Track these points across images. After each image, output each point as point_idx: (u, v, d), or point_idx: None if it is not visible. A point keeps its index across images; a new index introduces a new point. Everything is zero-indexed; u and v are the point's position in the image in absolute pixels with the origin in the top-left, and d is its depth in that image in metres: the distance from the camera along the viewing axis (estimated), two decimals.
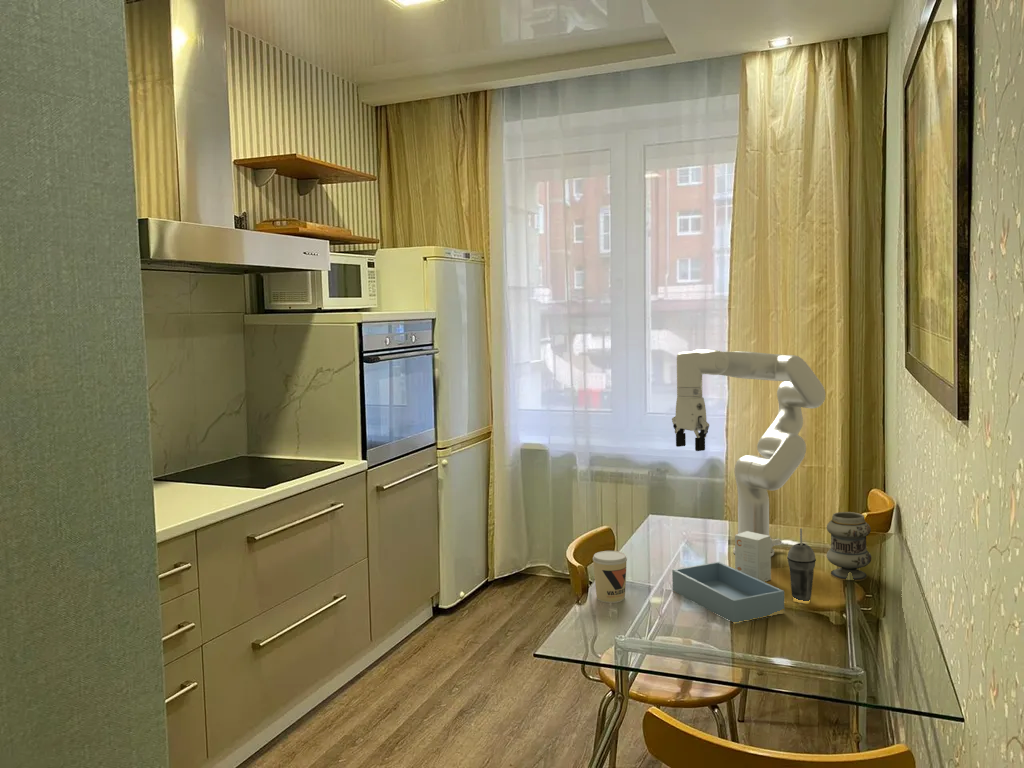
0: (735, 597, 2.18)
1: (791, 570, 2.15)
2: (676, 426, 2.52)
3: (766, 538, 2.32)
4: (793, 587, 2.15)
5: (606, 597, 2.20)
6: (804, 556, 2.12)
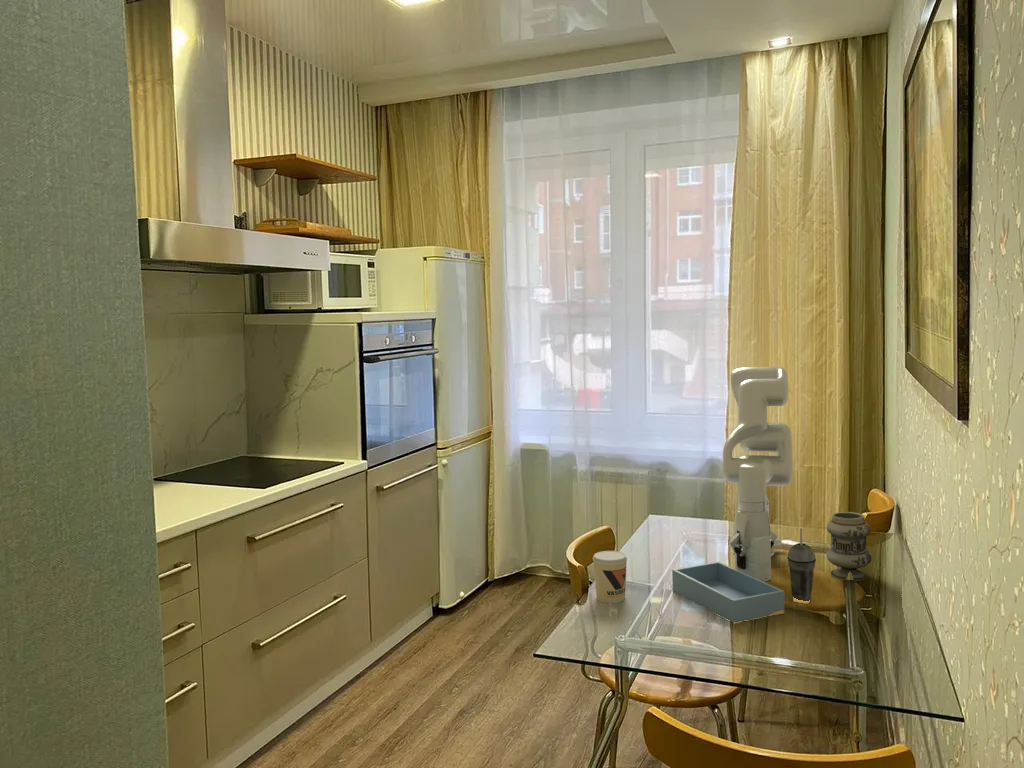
0: (735, 597, 2.18)
1: (791, 570, 2.15)
2: (738, 548, 2.32)
3: (766, 538, 2.32)
4: (793, 587, 2.15)
5: (606, 597, 2.20)
6: (804, 556, 2.12)
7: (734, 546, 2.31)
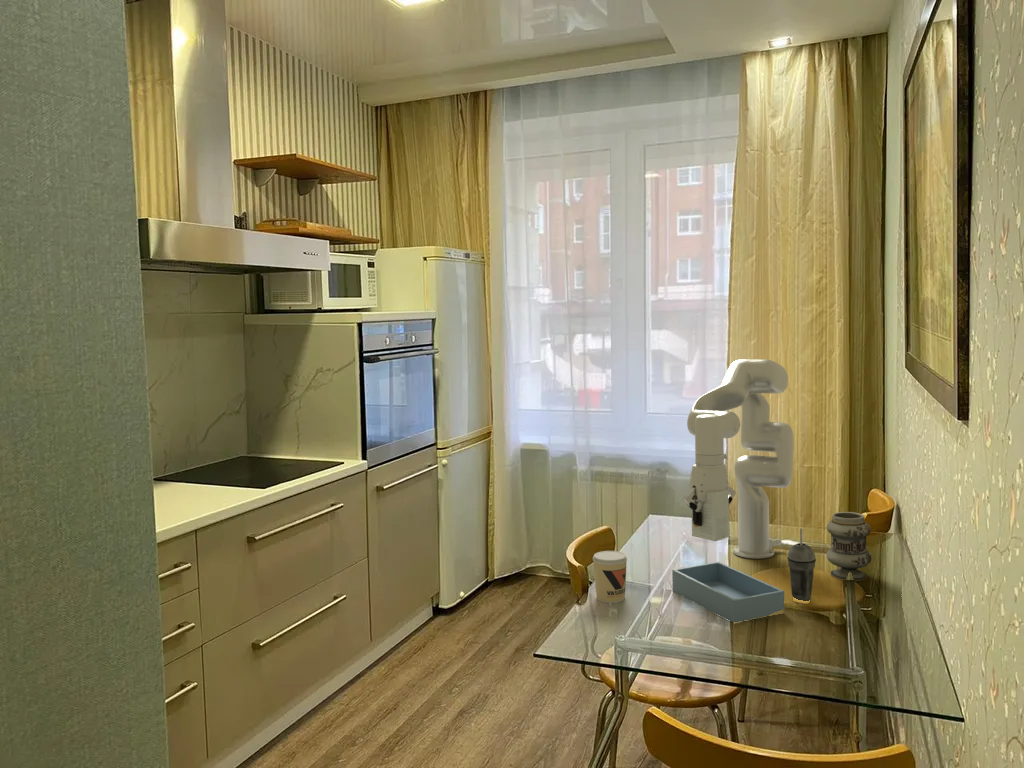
0: (735, 597, 2.18)
1: (791, 570, 2.15)
2: (694, 503, 2.20)
3: (723, 493, 2.20)
4: (793, 587, 2.15)
5: (606, 597, 2.20)
6: (804, 556, 2.12)
7: (689, 501, 2.19)
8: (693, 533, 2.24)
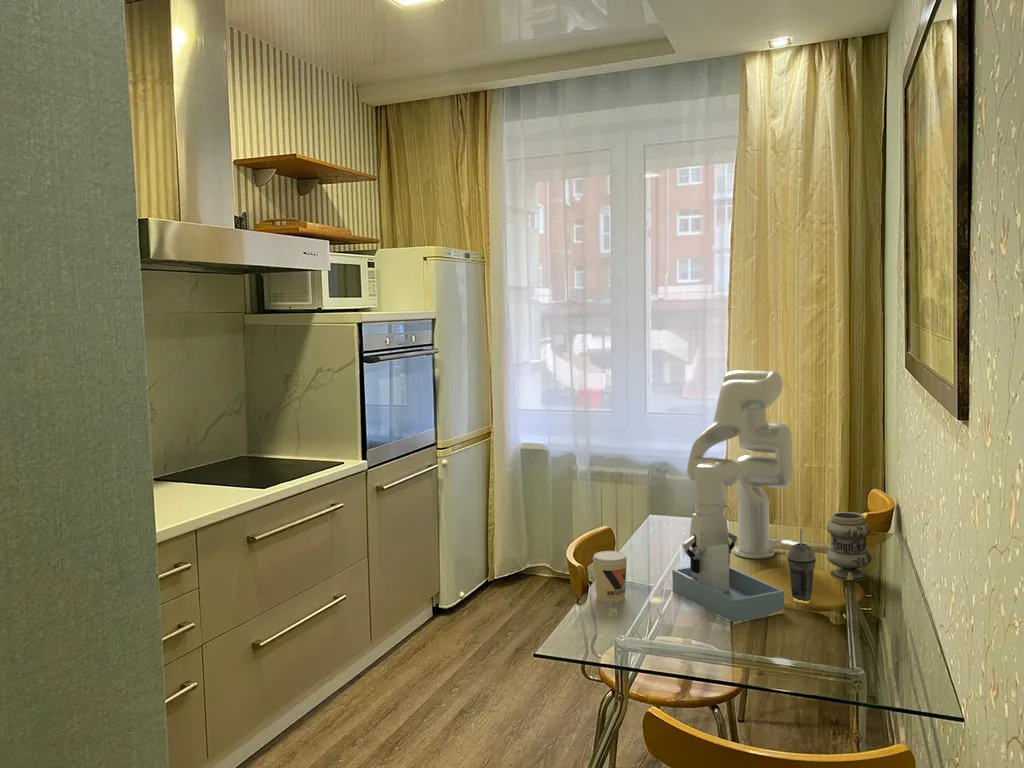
0: (735, 597, 2.18)
1: (791, 570, 2.15)
2: (692, 551, 2.20)
3: (723, 547, 2.21)
4: (793, 587, 2.15)
5: (606, 597, 2.20)
6: (804, 556, 2.12)
7: (687, 548, 2.20)
8: None
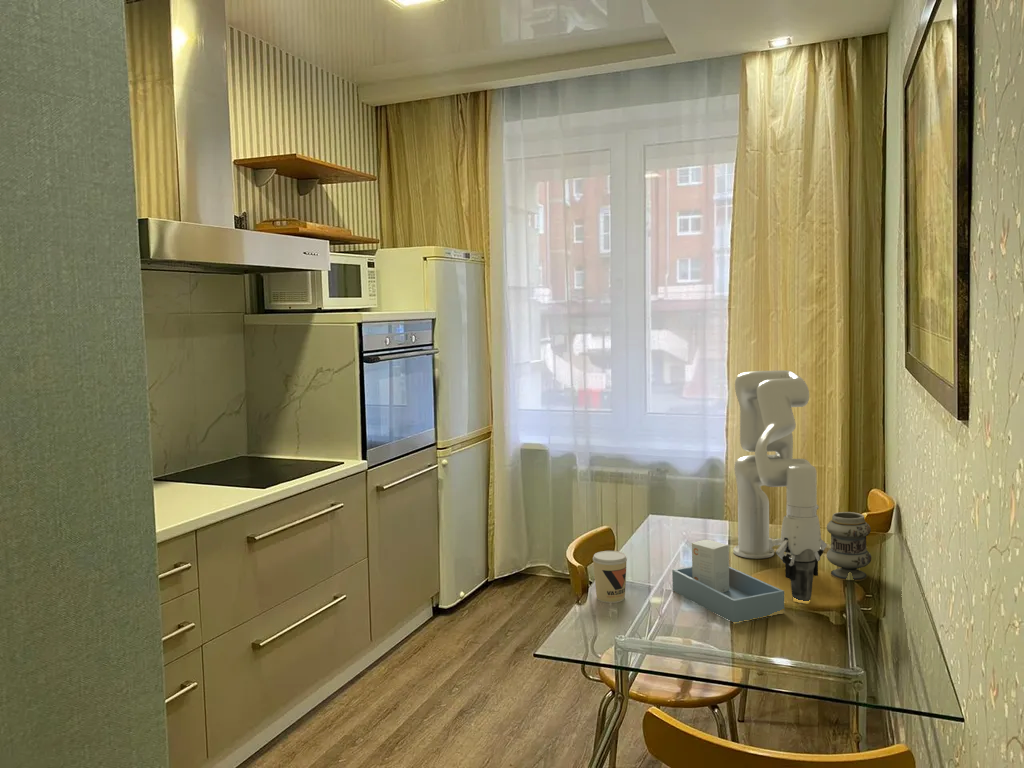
0: (735, 597, 2.18)
1: None
2: (787, 557, 2.13)
3: (723, 547, 2.21)
4: (793, 587, 2.15)
5: (606, 597, 2.20)
6: (804, 556, 2.12)
7: (783, 555, 2.12)
8: None
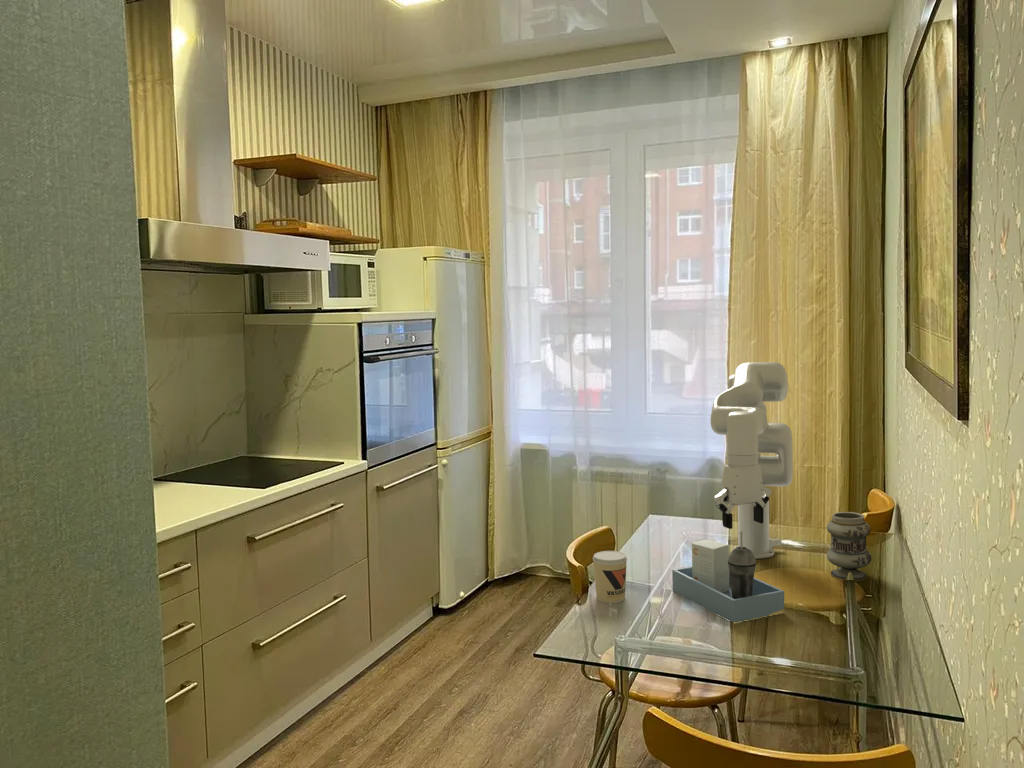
0: None
1: (731, 574, 2.10)
2: None
3: (723, 547, 2.21)
4: (733, 591, 2.10)
5: (606, 597, 2.20)
6: (744, 560, 2.07)
7: (720, 502, 2.05)
8: None
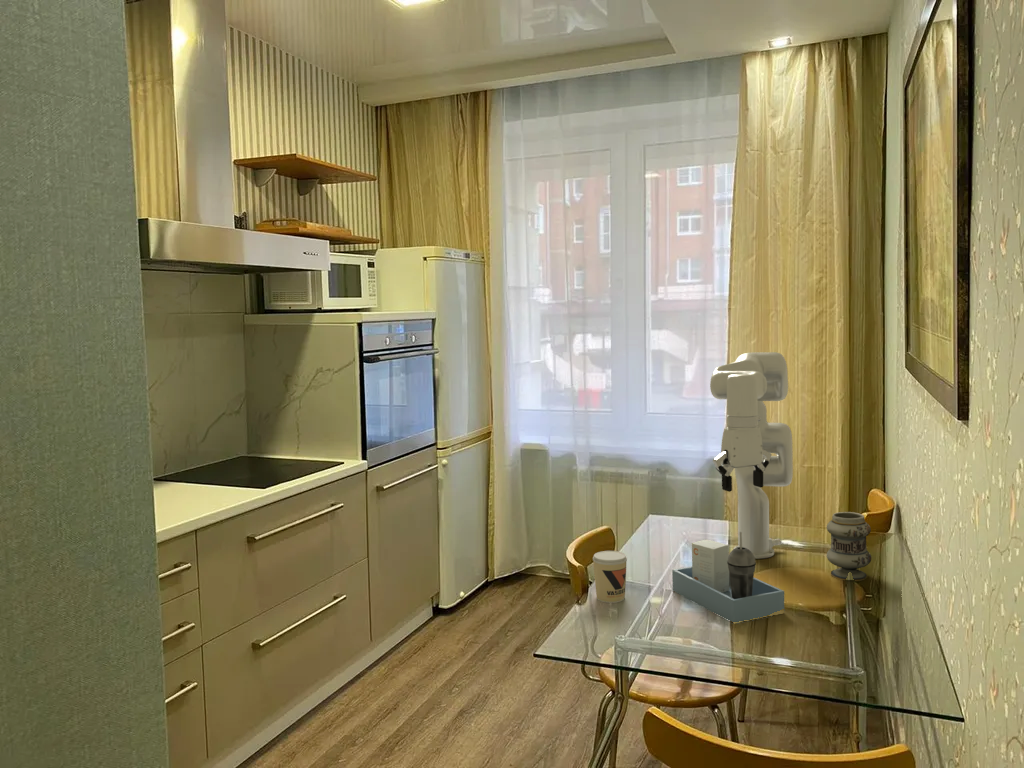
0: None
1: (731, 574, 2.10)
2: (723, 467, 2.05)
3: (723, 547, 2.21)
4: (733, 592, 2.10)
5: (606, 597, 2.20)
6: (744, 560, 2.07)
7: (719, 464, 2.04)
8: None
